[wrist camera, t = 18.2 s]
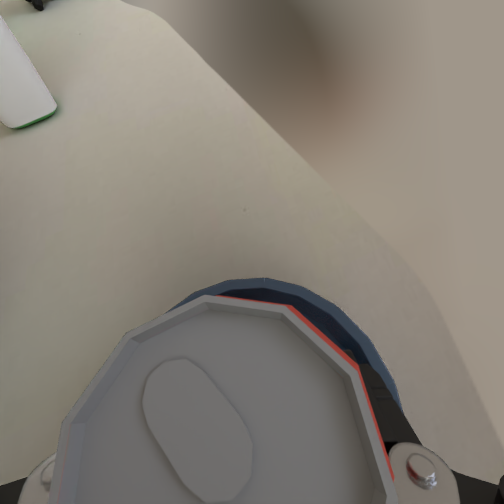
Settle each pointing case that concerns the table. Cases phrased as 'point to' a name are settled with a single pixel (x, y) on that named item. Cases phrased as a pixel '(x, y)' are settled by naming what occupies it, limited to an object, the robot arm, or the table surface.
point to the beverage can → (224, 416)
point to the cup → (20, 85)
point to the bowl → (307, 317)
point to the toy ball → (37, 4)
